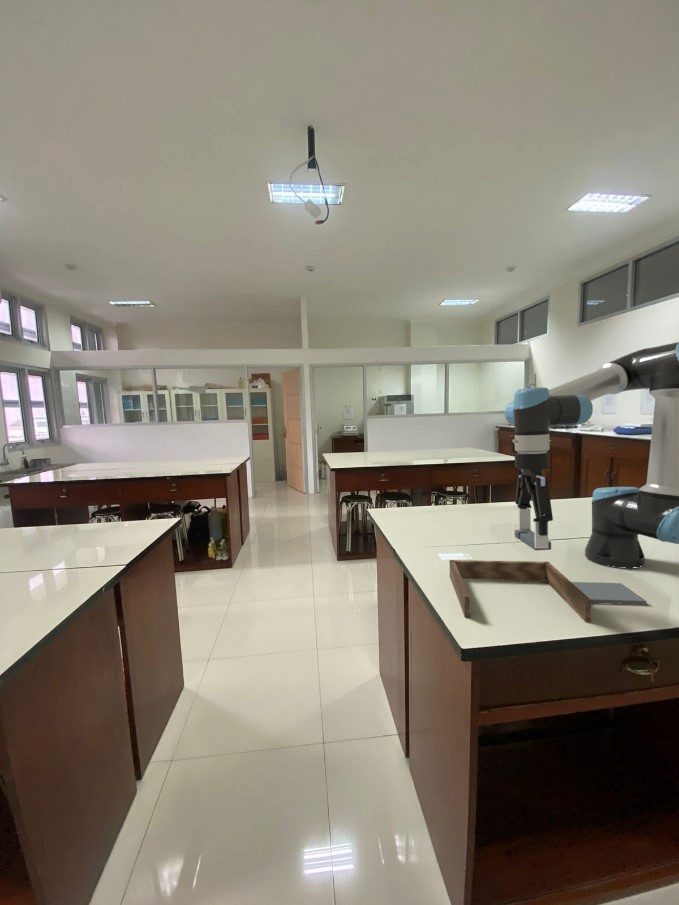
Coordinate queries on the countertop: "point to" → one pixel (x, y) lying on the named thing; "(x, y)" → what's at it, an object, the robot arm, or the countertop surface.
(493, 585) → the countertop surface
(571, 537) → the countertop surface
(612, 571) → the countertop surface
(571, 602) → the u-shaped wooden frame
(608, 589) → the slate mat
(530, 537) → the bracket
